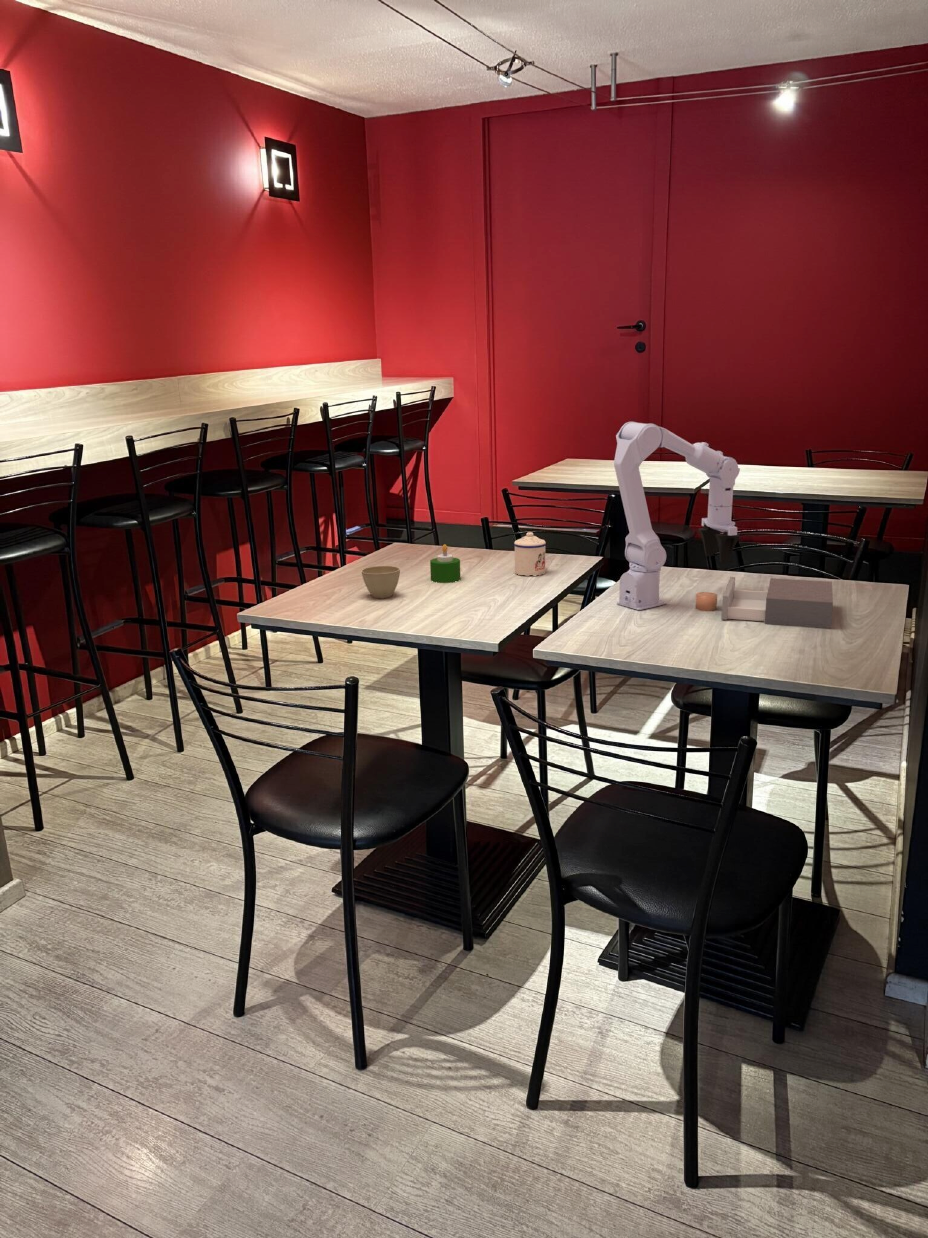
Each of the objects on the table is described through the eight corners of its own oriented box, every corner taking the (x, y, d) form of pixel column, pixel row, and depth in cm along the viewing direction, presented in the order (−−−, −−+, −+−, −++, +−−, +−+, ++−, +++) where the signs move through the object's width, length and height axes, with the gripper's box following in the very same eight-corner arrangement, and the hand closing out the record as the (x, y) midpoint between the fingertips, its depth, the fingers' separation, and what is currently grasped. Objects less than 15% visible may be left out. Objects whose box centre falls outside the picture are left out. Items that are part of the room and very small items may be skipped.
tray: (779, 602, 230) (781, 579, 228) (776, 623, 212) (777, 599, 210) (729, 598, 234) (730, 576, 232) (721, 619, 216) (722, 596, 214)
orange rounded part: (706, 612, 223) (707, 598, 222) (690, 608, 227) (691, 594, 226) (721, 609, 226) (721, 595, 225) (705, 604, 230) (705, 591, 229)
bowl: (404, 591, 249) (402, 565, 247) (397, 601, 240) (396, 573, 238) (367, 591, 250) (365, 565, 248) (359, 600, 241) (357, 573, 239)
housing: (829, 605, 226) (832, 581, 224) (830, 628, 208) (832, 602, 206) (769, 601, 231) (770, 578, 229) (764, 623, 213) (766, 598, 211)
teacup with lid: (540, 577, 260) (540, 536, 257) (509, 575, 264) (509, 534, 260) (552, 568, 271) (552, 528, 268) (522, 566, 274) (522, 527, 271)
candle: (426, 582, 258) (425, 546, 256) (436, 575, 266) (435, 540, 263) (455, 583, 256) (454, 547, 253) (464, 577, 264) (463, 542, 261)
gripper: (750, 508, 226) (746, 563, 230) (720, 500, 240) (717, 552, 244) (723, 510, 225) (720, 565, 229) (695, 501, 238) (692, 553, 242)
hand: (717, 558), depth 236 cm, fingers open, 7 cm apart
